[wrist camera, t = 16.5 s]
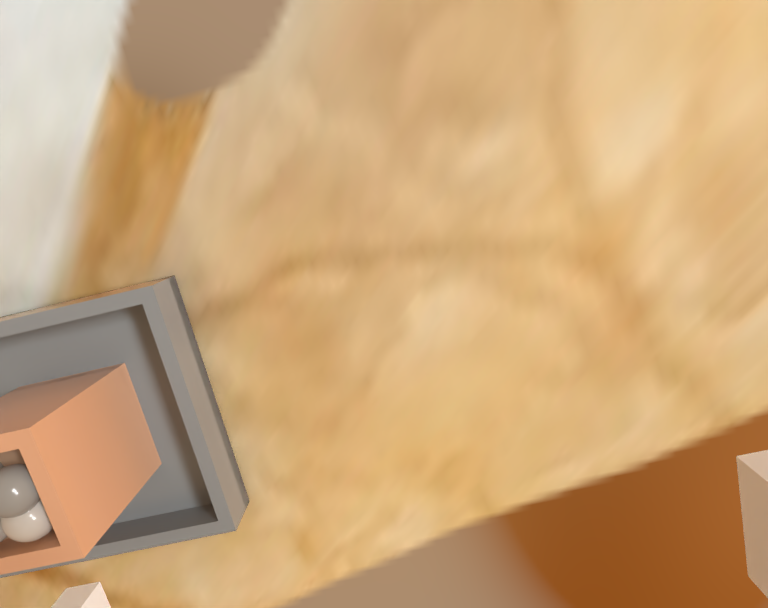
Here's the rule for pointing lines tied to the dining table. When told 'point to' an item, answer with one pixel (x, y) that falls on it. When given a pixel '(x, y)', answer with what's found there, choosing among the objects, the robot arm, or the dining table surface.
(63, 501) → the peach box
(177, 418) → the slate dish
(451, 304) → the dining table surface
